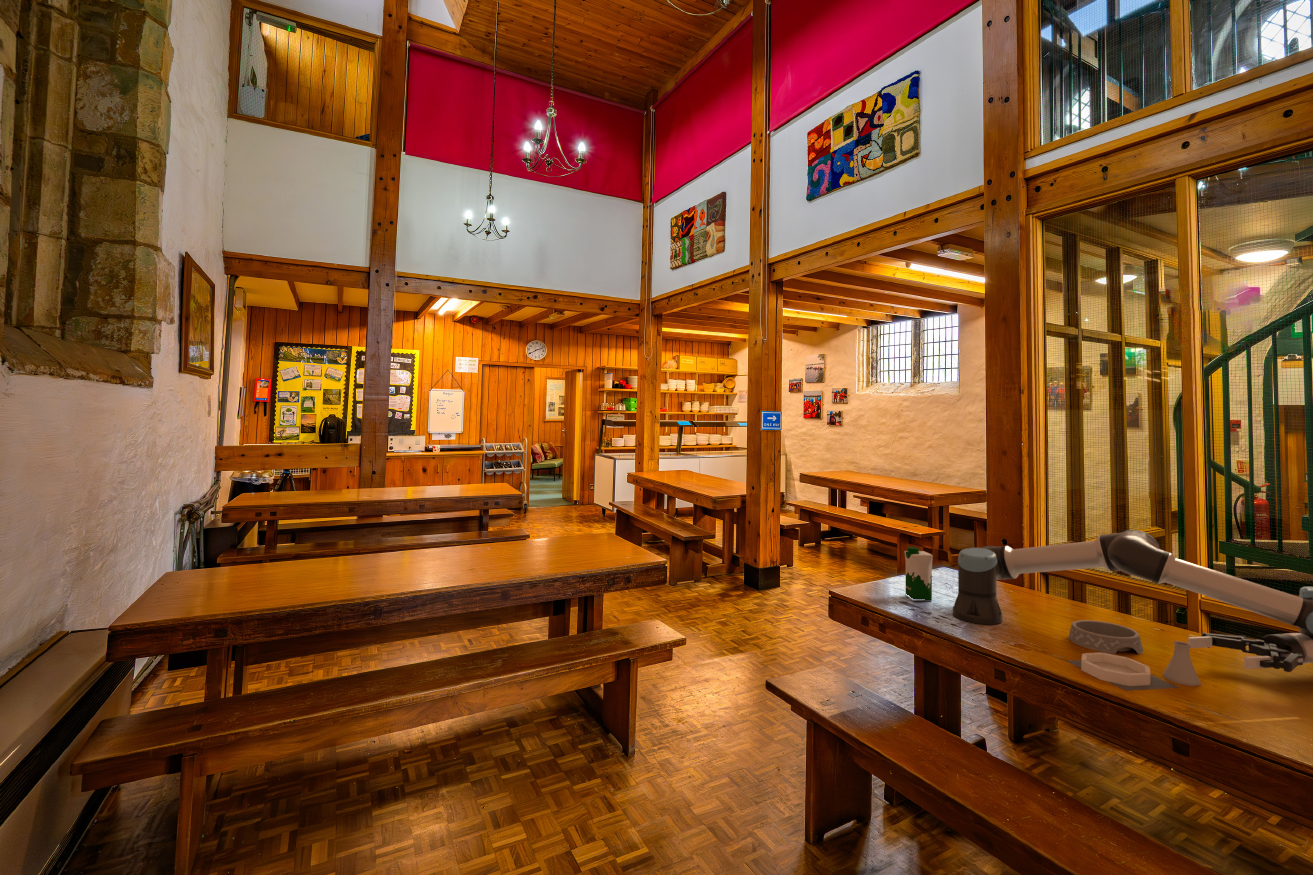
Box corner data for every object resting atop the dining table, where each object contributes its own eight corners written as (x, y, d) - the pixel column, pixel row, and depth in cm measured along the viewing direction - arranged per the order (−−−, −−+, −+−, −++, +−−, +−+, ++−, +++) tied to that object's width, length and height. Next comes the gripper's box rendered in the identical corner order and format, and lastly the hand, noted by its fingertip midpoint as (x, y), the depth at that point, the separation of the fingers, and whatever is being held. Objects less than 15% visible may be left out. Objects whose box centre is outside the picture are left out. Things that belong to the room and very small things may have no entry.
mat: (1066, 662, 157) (1066, 660, 157) (1115, 659, 159) (1115, 658, 159) (1125, 691, 139) (1125, 690, 139) (1179, 688, 141) (1179, 687, 141)
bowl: (1068, 663, 155) (1068, 653, 155) (1115, 661, 157) (1115, 651, 157) (1114, 686, 141) (1114, 675, 141) (1164, 684, 143) (1164, 673, 143)
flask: (1208, 688, 141) (1208, 649, 141) (1175, 686, 142) (1175, 647, 142) (1187, 676, 148) (1187, 639, 148) (1156, 674, 150) (1156, 637, 149)
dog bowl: (1054, 635, 179) (1055, 618, 179) (1113, 635, 179) (1113, 618, 179) (1095, 656, 162) (1095, 638, 162) (1159, 657, 162) (1159, 638, 161)
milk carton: (902, 595, 222) (902, 545, 222) (925, 595, 222) (925, 545, 222) (912, 602, 213) (912, 550, 213) (935, 602, 213) (935, 550, 213)
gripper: (1351, 683, 135) (1273, 688, 134) (1235, 645, 160) (1168, 648, 158) (1351, 653, 135) (1273, 657, 134) (1235, 619, 160) (1168, 622, 158)
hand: (1216, 652), depth 146 cm, fingers open, 13 cm apart
